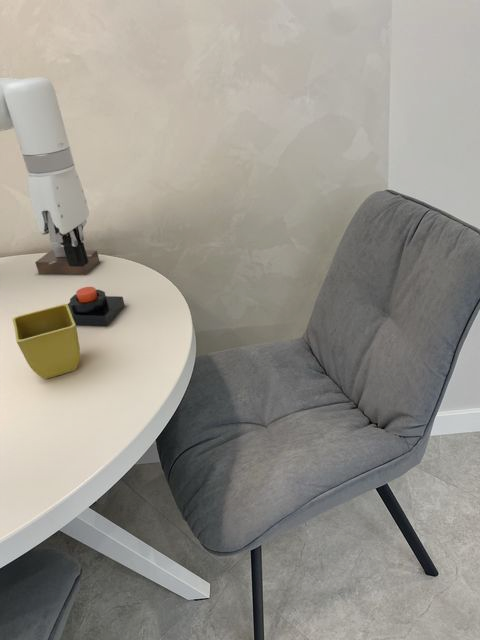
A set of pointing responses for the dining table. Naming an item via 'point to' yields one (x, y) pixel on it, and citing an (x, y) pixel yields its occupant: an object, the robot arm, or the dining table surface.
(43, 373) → the flower pot
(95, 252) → the base
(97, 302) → the button block
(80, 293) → the button
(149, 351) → the dining table surface
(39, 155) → the robot arm
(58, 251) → the tap lever
